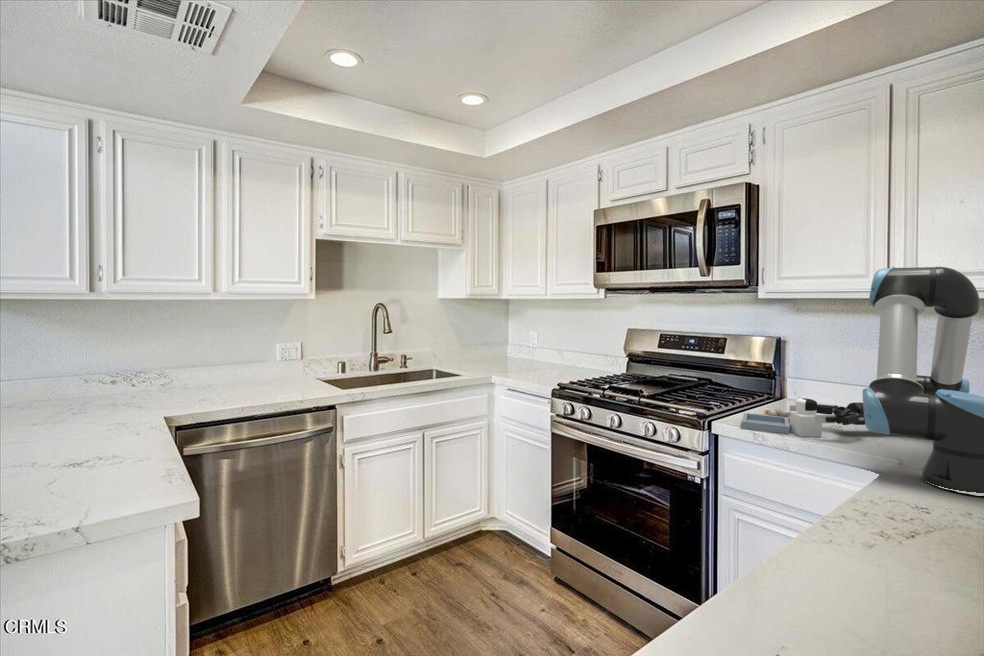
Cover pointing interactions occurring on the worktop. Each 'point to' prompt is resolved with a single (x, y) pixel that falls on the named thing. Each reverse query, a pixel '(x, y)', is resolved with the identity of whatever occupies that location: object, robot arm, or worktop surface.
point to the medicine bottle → (805, 419)
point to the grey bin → (765, 423)
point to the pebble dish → (765, 412)
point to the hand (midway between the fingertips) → (801, 413)
